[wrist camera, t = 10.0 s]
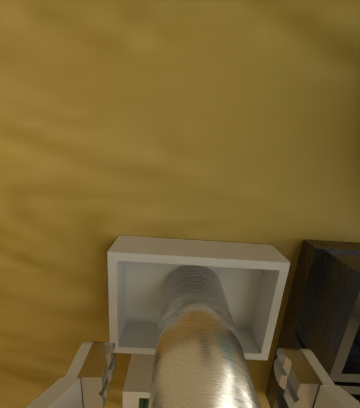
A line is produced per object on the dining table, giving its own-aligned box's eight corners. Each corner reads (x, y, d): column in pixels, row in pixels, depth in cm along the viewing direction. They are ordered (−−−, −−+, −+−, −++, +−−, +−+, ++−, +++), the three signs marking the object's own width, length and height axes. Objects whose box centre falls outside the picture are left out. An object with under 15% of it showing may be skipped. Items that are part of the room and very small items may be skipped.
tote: (119, 235, 13) (107, 252, 11) (272, 244, 13) (290, 263, 11) (120, 323, 14) (110, 352, 12) (254, 330, 15) (267, 360, 13)
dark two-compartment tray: (303, 239, 13) (351, 273, 9) (422, 247, 13) (514, 282, 9) (265, 394, 16) (289, 461, 13) (359, 398, 17) (409, 466, 13)
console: (133, 345, 15) (122, 391, 12) (211, 349, 15) (219, 395, 12) (132, 392, 16) (123, 444, 13) (205, 395, 16) (210, 448, 14)
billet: (164, 262, 13) (140, 435, 5) (225, 265, 13) (297, 442, 5) (161, 312, 14) (138, 523, 6) (218, 315, 14) (268, 527, 6)
